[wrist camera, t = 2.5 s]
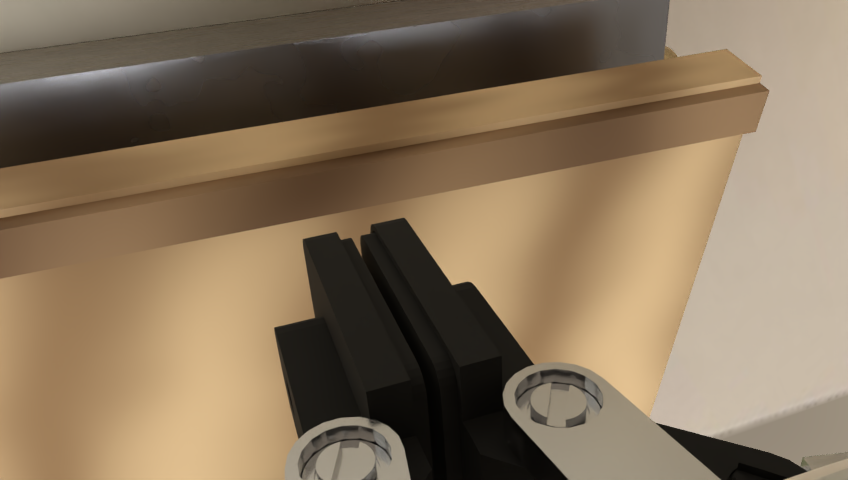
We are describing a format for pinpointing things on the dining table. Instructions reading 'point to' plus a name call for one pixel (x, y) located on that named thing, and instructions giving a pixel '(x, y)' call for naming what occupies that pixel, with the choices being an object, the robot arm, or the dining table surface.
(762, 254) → the dining table surface
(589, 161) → the tan flat piece
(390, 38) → the stand
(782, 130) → the dining table surface
